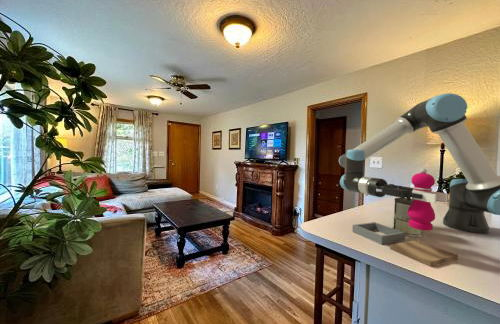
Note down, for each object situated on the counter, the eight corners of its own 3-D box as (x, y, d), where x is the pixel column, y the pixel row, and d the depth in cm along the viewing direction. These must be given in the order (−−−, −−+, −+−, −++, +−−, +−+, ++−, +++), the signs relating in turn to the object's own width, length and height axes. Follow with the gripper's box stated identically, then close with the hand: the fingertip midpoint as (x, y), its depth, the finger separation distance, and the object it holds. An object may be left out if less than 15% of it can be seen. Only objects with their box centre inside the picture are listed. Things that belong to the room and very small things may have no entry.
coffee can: (387, 227, 94) (389, 197, 94) (411, 228, 93) (413, 198, 93) (402, 236, 84) (404, 202, 84) (429, 237, 83) (431, 203, 83)
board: (415, 243, 77) (415, 239, 77) (457, 259, 66) (457, 254, 65) (390, 248, 72) (390, 244, 72) (430, 266, 61) (430, 261, 60)
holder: (374, 228, 92) (374, 222, 92) (404, 240, 80) (405, 232, 80) (352, 231, 87) (352, 224, 87) (381, 244, 75) (381, 236, 75)
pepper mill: (432, 226, 70) (435, 168, 69) (436, 233, 64) (440, 169, 63) (405, 222, 74) (408, 167, 73) (407, 228, 68) (411, 168, 67)
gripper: (387, 194, 89) (457, 208, 67) (356, 196, 83) (422, 212, 61) (388, 177, 89) (458, 185, 67) (357, 178, 82) (423, 187, 60)
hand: (441, 198), depth 64 cm, fingers closed on pepper mill, 5 cm apart
